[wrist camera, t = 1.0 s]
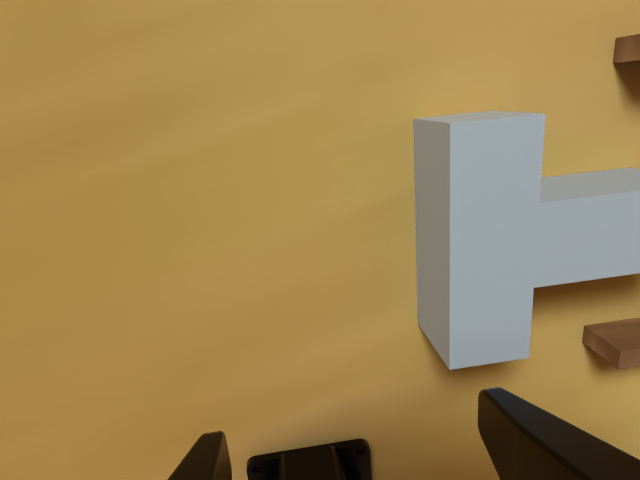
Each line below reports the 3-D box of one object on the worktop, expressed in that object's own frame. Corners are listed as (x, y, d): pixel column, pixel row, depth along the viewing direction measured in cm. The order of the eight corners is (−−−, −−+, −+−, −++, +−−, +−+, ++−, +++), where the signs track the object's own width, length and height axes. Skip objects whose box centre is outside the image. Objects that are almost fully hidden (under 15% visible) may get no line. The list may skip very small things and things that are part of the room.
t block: (612, 296, 23) (680, 334, 19) (417, 323, 22) (449, 370, 18) (638, 95, 20) (725, 94, 16) (413, 118, 19) (450, 123, 15)
